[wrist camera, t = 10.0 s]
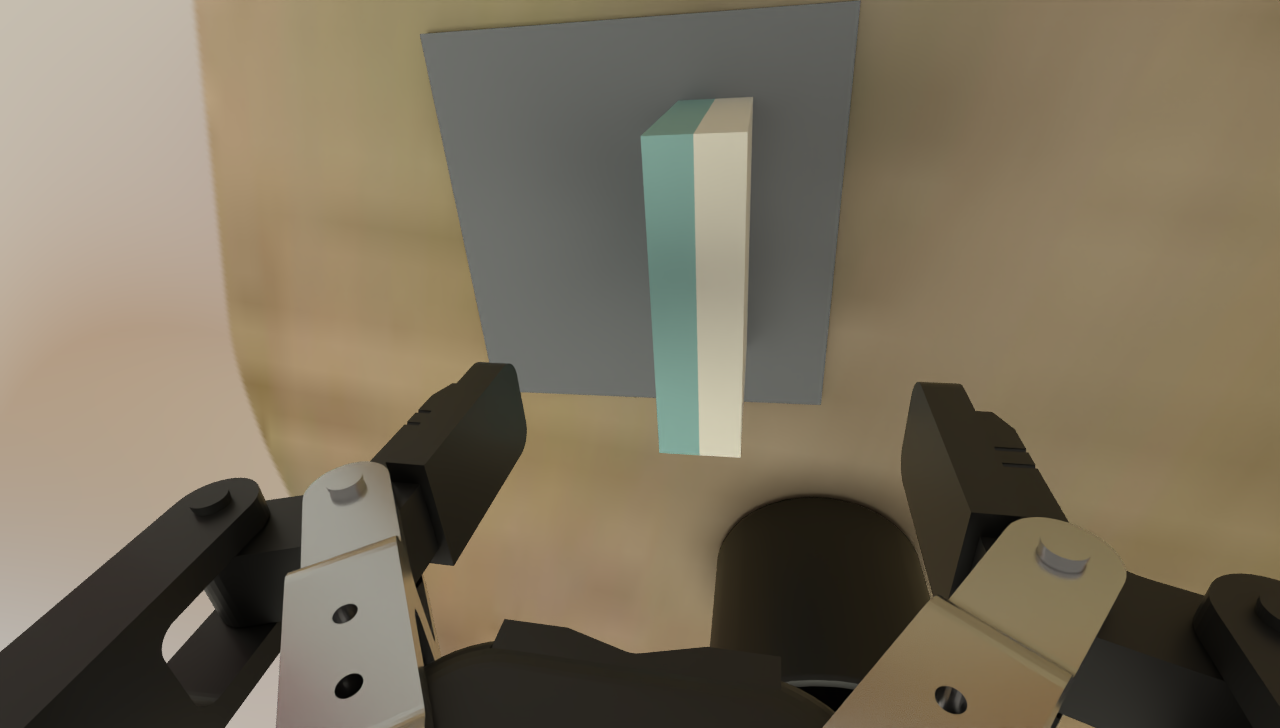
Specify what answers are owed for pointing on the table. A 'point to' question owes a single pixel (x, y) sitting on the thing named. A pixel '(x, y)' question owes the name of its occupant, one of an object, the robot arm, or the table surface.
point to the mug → (816, 592)
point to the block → (699, 270)
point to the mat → (641, 184)
